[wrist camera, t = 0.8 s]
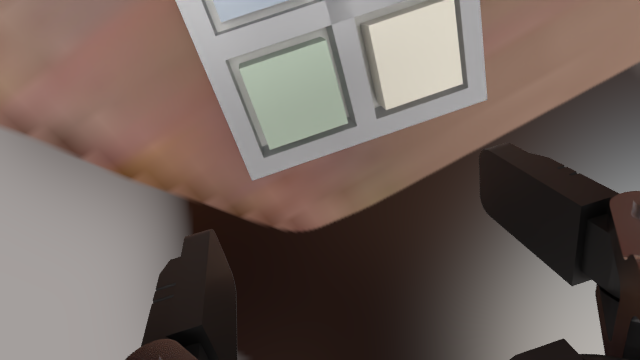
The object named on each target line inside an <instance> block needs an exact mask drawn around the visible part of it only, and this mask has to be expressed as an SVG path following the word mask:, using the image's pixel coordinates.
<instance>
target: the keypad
mask: <svg viewBox="0 0 640 360" xmlns="http://www.w3.org/2000/svg"><path fill="white" fill-rule="evenodd" d="M425 1H428V0H288V1H285V2H282V3H279V4H276V5H273V6H270V7H266V8H263V9H260V10H257V11H254V12H251V13H248V14H245V15H242V16H239V17H236V18H233V19H230V20H227V21H224V22H221V21H220V18H219V15H218V13H217V10H216V7H215V5H214V2H213V0H176V3H177V5H178V7H179V10H180V12H181V14H182V17H183V19H184V22H185V24H186V26H187V29H188V31H189V33H190V36H191V38H192V40H193V43H194V45H195V47H196V50H197V52H198V54H199V57H200V59H201V62H202V64H203V66H204V69H205V71H206V73H207V76H208V78H209V80H210V83H211V85H212V87H213V90H214V92H215V94H216V97H217V99H218V101H219V104H220V106H221V109H222V111H223V113H224V116H225V118H226V120H227V123H228V125H229V127H230V130H231V132H232V134H233V137H234V139H235V141H236V144H237V146H238V149H239V151H240V153H241V156H242V158H243V160H244V163H245V165H246V167H247V170H248V172H249V174H250V177H251V179H252V181H253V180H256V179H259V178H262V177H265V176H268V175H270V174H273V173H276V172H279V171H282V170H285V169H288V168H291V167H294V166H297V165H299V164H302V163H305V162H308V161H311V160H314V159H317V158H320V157H323V156H326V155H328V154H331V153H334V152H337V151H340V150H343V149H346V148H349V147H352V146H354V145H357V144H360V143H363V142H366V141H369V140H372V139H375V138H378V137H381V136H383V135H386V134H389V133H392V132H395V131H398V130H401V129H404V128H407V127H410V126H412V125H415V124H418V123H421V122H424V121H427V120H430V119H433V118H436V117H439V116H441V115H444V114H447V113H450V112H453V111H456V110H459V109H462V108H465V107H467V106H470V105H473V104H476V103H479V102H482V101H485V100H487V89H486V76H485V63H484V49H483V36H482V23H481V10H480V0H454V4H455V14H456V23H457V33H458V42H459V52H460V61H461V71H462V80H463V84H461V85H458V86H455V87H452V88H449V89H447V90H444V91H441V92H438V93H435V94H432V95H429V96H426V97H423V98H420V99H417V100H414V101H412V102H409V103H406V104H403V105H400V106H397V107H394V108H391V109H388V110H385V109H384V108H383V107H382V106H381V105H379V104H378V103H377V98H376V94H375V89H374V85H373V80H372V75H371V71H370V66H369V62H368V57H367V53H366V48H365V44H364V39H363V34H362V30H361V25H360V23H362V22H365V21H368V20H371V19H374V18H377V17H380V16H383V15H386V14H389V13H392V12H395V11H398V10H401V9H404V8H407V7H410V6H413V5H416V4H419V3H422V2H425ZM318 37H322V38H324V39H326V41H327V44H328V48H329V52H330V56H331V59H332V63H333V67H334V71H335V75H336V78H337V82H338V86H339V90H340V94H341V97H342V101H343V105H344V109H345V112H346V116H347V120H348V123H347V124H344V125H342V126H339V127H336V128H333V129H330V130H327V131H324V132H321V133H318V134H315V135H312V136H309V137H307V138H304V139H301V140H298V141H295V142H292V143H289V144H286V145H283V146H280V147H277V148H274V149H272V150H270V149H269V146H268V143H267V141H266V138H265V136H264V133H263V130H262V128H261V125H260V123H259V120H258V117H257V115H256V112H255V109H254V107H253V104H252V102H251V99H250V96H249V94H248V91H247V89H246V86H245V83H244V81H243V78H242V75H241V73H240V70H239V64H240V63H243V62H246V61H249V60H252V59H255V58H258V57H261V56H264V55H267V54H270V53H273V52H276V51H279V50H282V49H285V48H288V47H291V46H294V45H297V44H300V43H303V42H306V41H309V40H312V39H315V38H318Z"/></svg>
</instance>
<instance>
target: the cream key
mask: <svg viewBox="0 0 640 360" xmlns="http://www.w3.org/2000/svg"><path fill="white" fill-rule="evenodd" d="M360 25H361V30H362V34H363V39H364V44H365V48H366V53H367V57H368V62H369V66H370V71H371V75H372V80H373V85H374V89H375V94H376V98H377V103H378V104H379V105H381V106H382V107H383V108H384V109H385V110H388V109H391V108H394V107H397V106H400V105H403V104H406V103H409V102H412V101H414V100H417V99H420V98H423V97H426V96H429V95H432V94H435V93H438V92H441V91H444V90H447V89H449V88H452V87H455V86H458V85H461V84H463V80H462V71H461V61H460V52H459V42H458V33H457V23H456V14H455V4H454V0H428V1H425V2H422V3H419V4H416V5H413V6H410V7H407V8H404V9H401V10H398V11H395V12H392V13H389V14H386V15H383V16H380V17H377V18H374V19H371V20H368V21H365V22H362V23H360Z"/></svg>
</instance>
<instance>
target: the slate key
mask: <svg viewBox="0 0 640 360" xmlns="http://www.w3.org/2000/svg"><path fill="white" fill-rule="evenodd" d="M285 1H288V0H213V2H214V5H215V7H216V10H217V13H218V15H219V18H220V21H221V22H224V21H227V20H230V19H233V18H236V17H239V16H242V15H245V14H248V13H251V12H254V11H257V10H260V9H263V8H266V7H270V6H273V5H276V4H279V3H282V2H285Z"/></svg>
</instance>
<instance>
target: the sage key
mask: <svg viewBox="0 0 640 360" xmlns="http://www.w3.org/2000/svg"><path fill="white" fill-rule="evenodd" d="M239 70H240V73H241V75H242V78H243V81H244V83H245V86H246V89H247V91H248V94H249V96H250V99H251V102H252V104H253V107H254V109H255V112H256V115H257V117H258V120H259V123H260V125H261V128H262V130H263V133H264V136H265V138H266V141H267V143H268V146H269V149H270V150H272V149H274V148H277V147H280V146H283V145H286V144H289V143H292V142H295V141H298V140H301V139H304V138H307V137H309V136H312V135H315V134H318V133H321V132H324V131H327V130H330V129H333V128H336V127H339V126H342V125H344V124H347V123H348V120H347V116H346V112H345V109H344V105H343V101H342V97H341V94H340V90H339V86H338V82H337V78H336V75H335V71H334V67H333V63H332V59H331V56H330V52H329V48H328V44H327V41H326V39H324V38H322V37H318V38H315V39H312V40H309V41H306V42H303V43H300V44H297V45H294V46H291V47H288V48H285V49H282V50H279V51H276V52H273V53H270V54H267V55H264V56H261V57H258V58H255V59H252V60H249V61H246V62H243V63H240V64H239Z"/></svg>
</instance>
